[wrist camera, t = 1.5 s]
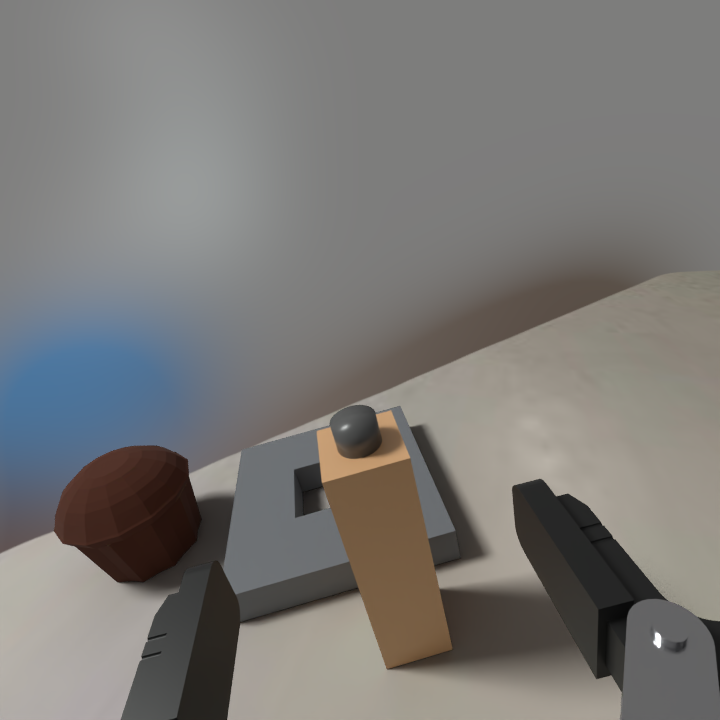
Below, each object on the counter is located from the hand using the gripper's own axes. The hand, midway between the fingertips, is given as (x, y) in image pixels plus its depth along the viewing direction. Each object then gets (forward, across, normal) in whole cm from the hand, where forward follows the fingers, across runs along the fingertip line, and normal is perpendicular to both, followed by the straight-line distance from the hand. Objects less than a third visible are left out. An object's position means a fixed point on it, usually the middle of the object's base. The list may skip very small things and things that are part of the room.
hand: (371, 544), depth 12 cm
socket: (+24, +4, +20) cm, 31 cm away
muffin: (+25, +22, +20) cm, 39 cm away
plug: (+11, 0, +20) cm, 23 cm away
